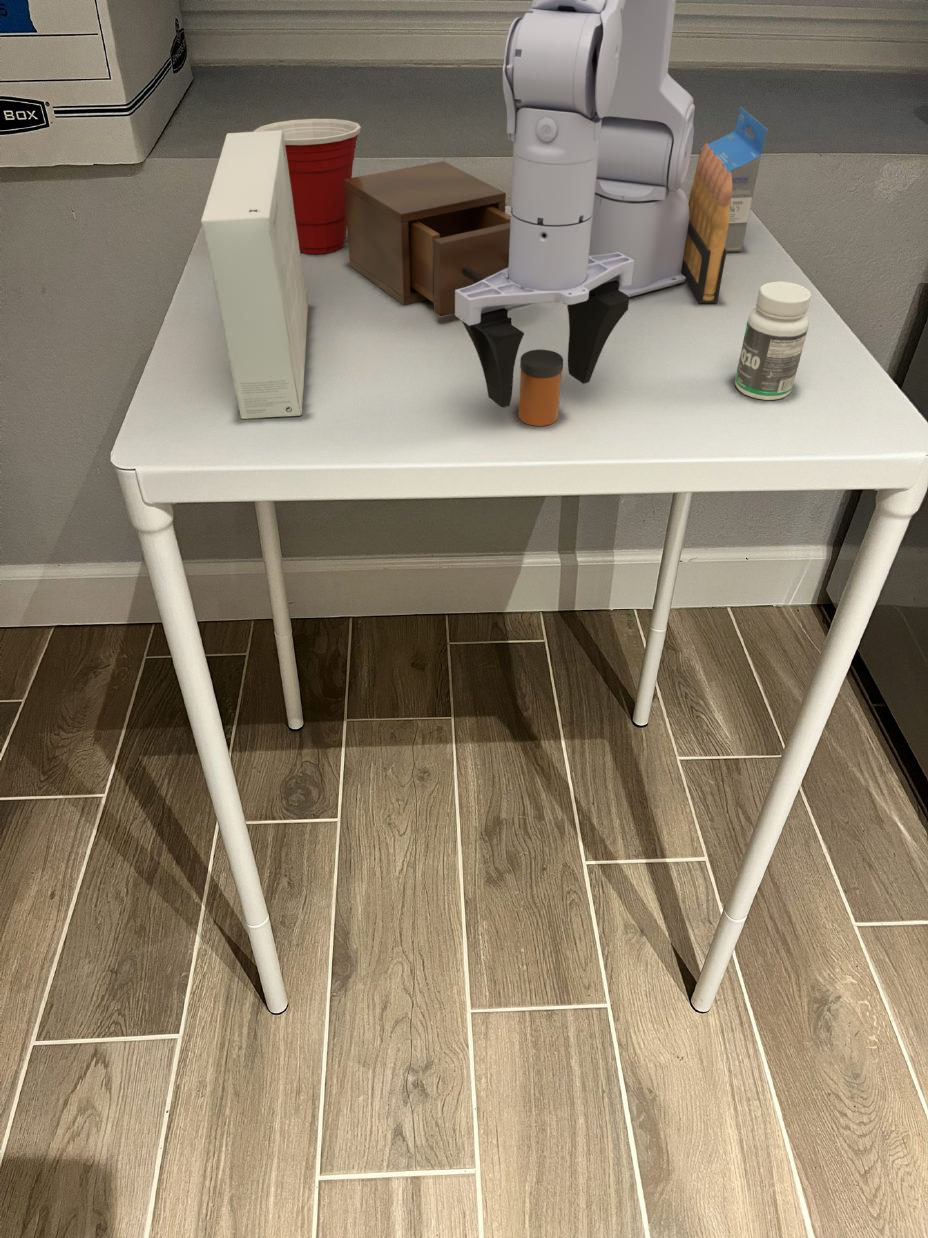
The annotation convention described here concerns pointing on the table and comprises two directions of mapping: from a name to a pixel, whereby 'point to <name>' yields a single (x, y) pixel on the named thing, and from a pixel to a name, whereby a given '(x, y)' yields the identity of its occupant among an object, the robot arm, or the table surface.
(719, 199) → the ammunition clip
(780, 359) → the pill bottle
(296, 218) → the plastic cup
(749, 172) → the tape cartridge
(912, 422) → the table surface
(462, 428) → the table surface
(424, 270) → the drawer
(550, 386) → the bottle
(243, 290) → the skincare box
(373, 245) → the cabinet
